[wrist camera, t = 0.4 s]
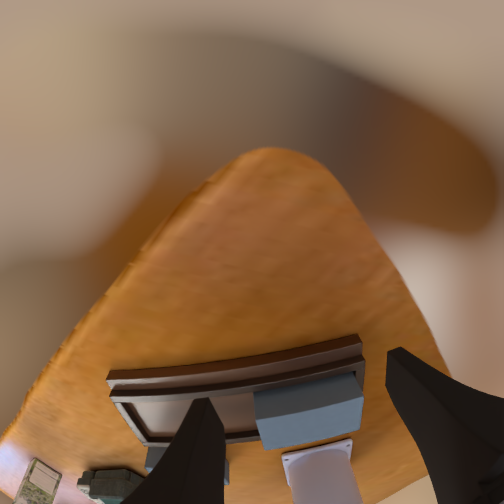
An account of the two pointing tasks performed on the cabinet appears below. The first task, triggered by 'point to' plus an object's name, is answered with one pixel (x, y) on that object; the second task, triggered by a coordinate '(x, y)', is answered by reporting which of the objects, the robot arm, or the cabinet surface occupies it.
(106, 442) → the cabinet surface
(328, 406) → the blue-grey rectangular block
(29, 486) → the syrup box
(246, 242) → the cabinet surface
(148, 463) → the loose pad
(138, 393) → the dark brown wooden tray
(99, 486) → the communication device
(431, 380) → the robot arm
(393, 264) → the cabinet surface
